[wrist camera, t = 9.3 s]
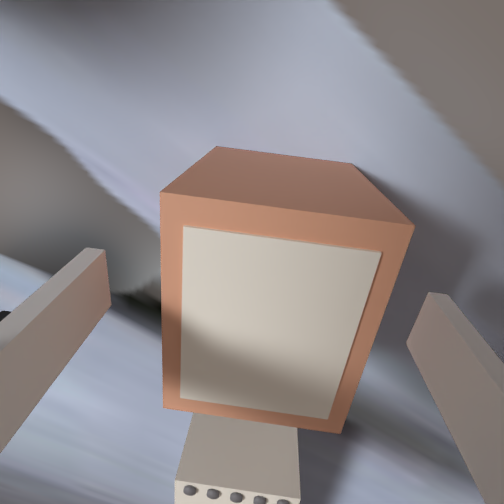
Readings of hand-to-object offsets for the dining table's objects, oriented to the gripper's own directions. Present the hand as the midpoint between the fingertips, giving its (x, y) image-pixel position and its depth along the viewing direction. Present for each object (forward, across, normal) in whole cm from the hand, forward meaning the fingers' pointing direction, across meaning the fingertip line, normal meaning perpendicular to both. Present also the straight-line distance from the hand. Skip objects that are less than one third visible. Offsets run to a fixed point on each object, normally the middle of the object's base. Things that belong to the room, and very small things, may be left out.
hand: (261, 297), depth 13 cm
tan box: (+8, 0, -1) cm, 8 cm away
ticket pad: (+8, 0, -25) cm, 26 cm away
